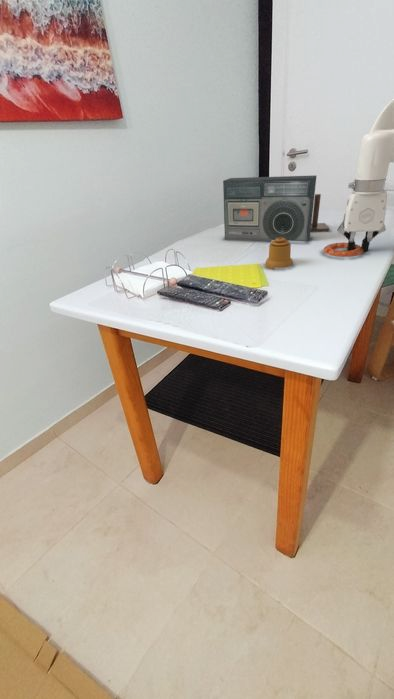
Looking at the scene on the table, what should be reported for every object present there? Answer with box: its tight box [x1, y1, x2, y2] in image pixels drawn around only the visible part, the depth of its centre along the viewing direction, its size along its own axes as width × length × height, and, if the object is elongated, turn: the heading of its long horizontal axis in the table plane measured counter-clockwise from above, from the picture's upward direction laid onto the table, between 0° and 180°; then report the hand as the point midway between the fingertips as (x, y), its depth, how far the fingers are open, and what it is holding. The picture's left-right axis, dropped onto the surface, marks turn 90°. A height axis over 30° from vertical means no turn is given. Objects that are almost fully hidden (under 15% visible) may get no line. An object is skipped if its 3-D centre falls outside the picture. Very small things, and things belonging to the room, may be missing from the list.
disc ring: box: [323, 242, 364, 258], centre depth 100 cm, size 11×11×2 cm
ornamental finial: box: [265, 238, 294, 270], centre depth 94 cm, size 8×8×8 cm
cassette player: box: [222, 175, 317, 243], centre depth 115 cm, size 29×7×20 cm, turn 65°
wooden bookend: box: [311, 193, 330, 233], centre depth 124 cm, size 9×9×12 cm
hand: (356, 253), depth 100 cm, fingers closed on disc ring, 2 cm apart
